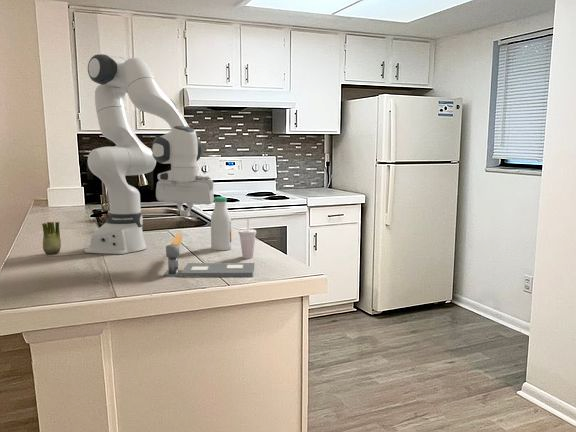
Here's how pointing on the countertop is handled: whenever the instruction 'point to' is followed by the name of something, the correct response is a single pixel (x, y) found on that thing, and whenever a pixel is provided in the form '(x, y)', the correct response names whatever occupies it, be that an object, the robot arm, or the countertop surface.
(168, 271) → the pivot post
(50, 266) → the countertop surface
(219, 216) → the milk bottle
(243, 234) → the smoothie
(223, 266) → the tray
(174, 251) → the strip
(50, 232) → the fennel bulb
